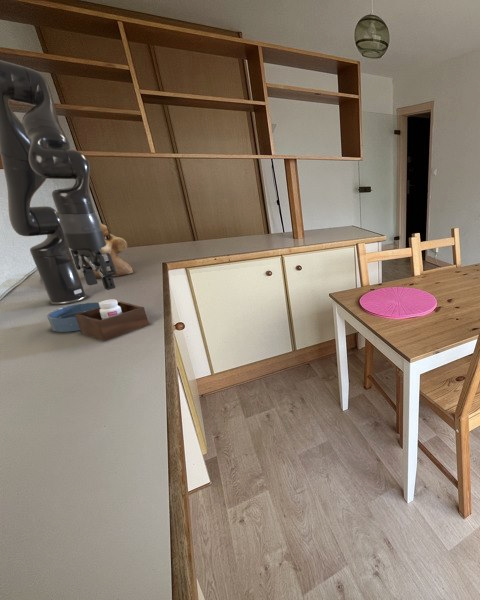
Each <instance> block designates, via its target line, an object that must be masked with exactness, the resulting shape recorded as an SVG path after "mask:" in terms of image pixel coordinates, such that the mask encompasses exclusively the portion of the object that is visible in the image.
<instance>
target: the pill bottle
mask: <svg viewBox="0 0 480 600" xmlns="http://www.w3.org/2000/svg"><path fill="white" fill-rule="evenodd" d="M117 302H118V300H117V299H115V298H113V299H105V300H101V301H99V302H98V303H99V306H100V308H101V309H100V310H99V311H100V314H101V317H102V319H106V318H109V317H112V316H115V315H118V314H121V313H122V311H121V307H120V306H118V303H117Z"/></svg>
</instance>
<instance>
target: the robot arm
mask: <svg viewBox="0 0 480 600" xmlns="http://www.w3.org/2000/svg"><path fill="white" fill-rule="evenodd" d="M10 102H15V103H19V104H23V105H24V104H25V105H30V106H32V108H30V109H29V110H27V111H26V112H25V113H24V115H23V117H22V122H21V120H20V119H19V118H18V117H17V115H16V114H15V113H14V111H13V109H12V107H11V105H10ZM0 159H1V163H2V164H1V165H2V168H3V172H4V178H5V183H6V189H7V204H8V205H7V206H8V207H7V208H8V209H7V210H8V218H9V222H10V225H11V227H12V229H13V231H14V232H15V233H16V234H18V235H19V236H22V237H38V236H46V238H45V239H44V240H43V241H41V242H40V243H37V244H35V245H33V246H32V247H30V249H29V252H30V255H31V256H32V259H33V262H34V264H35V266H36V269H37V272H38V274H39V276H40V279H41V281H42V284H43V287H44V289H45V291H46V294H47V296H48V299H49V303H50V304H52V305H66V304H67V305H68V304H72V303H77V302H81V301H83V300H85V299H87V297H88V296H87V294H86V292H85V289H84V286H83V283H82V280H81V278H80V275H79V272H78V271H80V273H82V274H83V276H84V277H83V278H84V279H85V282H86V285H87V286H95V285H98V278H96V276H95V273H94V272H92V271H93V270H94V271H97V272H98V273H99V275H100V276H101V278H100V279H101V281H102V284H103V288H104V290H106V291H110V290H114V289H115V288H116V284H115V281H114V278H113V277H112V275H114V274H116V270H115V267H114V264H113V261H112V258H111V255H110V254H109V253H106V254H103V253H102V251H101V248H102V247H105V246H106V242H105V239H106V238H105V239H104V236H103V232H102V229H101V226H100V223H101V222H100V219H99V218H98V216H97V214H96V211H95V207H94V205H93V204H94V203H93V200H92V197H91V192H90V179H91V165H90V164H91V163H90V161H89V159H88V157H87V156H86V155H85V154H84V153H82V152H81V151H79V150H76V149H71V145H70V142H69V140H68V138H67V136H66V133H65V131H64V130H63V127H62V126H61V123H60V120H59V117H58V113H57V108H56V105H55V101H54V98H53V95H52V91H51V88H50V86H49V83H48V81H47V79H46V78H45V76H44V75H43V74H42V73H41V72H40V71H38V70H35V69H32V68H30V67H27V66H23V65H19V64H16V63H12V62H9V61H5V60H1V59H0ZM47 179H49V180H74V184H73V185H72V186H69V187H65V188H58V189H54V190H53V191H52V192H51V197H52V200H53V203H54V205H55V208H56V209H55V208H53V207H51V206H44V205H43V206H31V202H32V198H33V196H34V195H35V194H36V192H37V191H38V190H39V189H40V188H41V187H42V186H43V185H44V183H45V182H46V181H47ZM57 211H58V213H59V214H58V213H57ZM99 222H100V223H99ZM109 267H110V268H111V270H110V268H109ZM102 271H103V272H102Z"/></svg>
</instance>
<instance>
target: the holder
mask: <svg viewBox="0 0 480 600" xmlns="http://www.w3.org/2000/svg"><path fill="white" fill-rule="evenodd" d="M117 303H118V306H120V307H121V311H122V313H121V314H118V315H115V316H112V317H109V318H106V319H102V317H101V314H100V311H99V310H100V309H101V308H100V307H99V308H96V309H92V310H89V311H85V312H82V313H78V314H75V317H76V320H77V322H78V325H79V327H80V330H79V331H80V332H81V334H84V335H86V336H89V337H93V338H95V339H99V340H100V341H101V340H102V341H105V342H107V341H109V340H111V339H114V338H118V337H121V336H122V335H125V334H128V333H131V332H133V331H136V330H139V329H141V328H145V327H147V326H149V325H150V323H149V319H148V316H147V313H146V309H145V306H140V305H137V304H133V303H129V302H125V301H121V300H120V301H117Z"/></svg>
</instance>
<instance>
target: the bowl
mask: <svg viewBox="0 0 480 600" xmlns="http://www.w3.org/2000/svg"><path fill="white" fill-rule="evenodd" d="M99 307H100V306H99V302H84V303H76V304H72V305H67V306H64V307H60V308H58V309H57V308H56V309H55V310H52V311H50V312H49V313H48V314H47V315H46V317H47V321H48V322H49V325H50V327H51V329H52V331H54V332H59V333H67V332H77V331H81V330H80V327H79V325H78V322H77V320H76V317H75V314H78V313H82V312H85V311H89V310H92V309H96V308H99Z"/></svg>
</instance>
